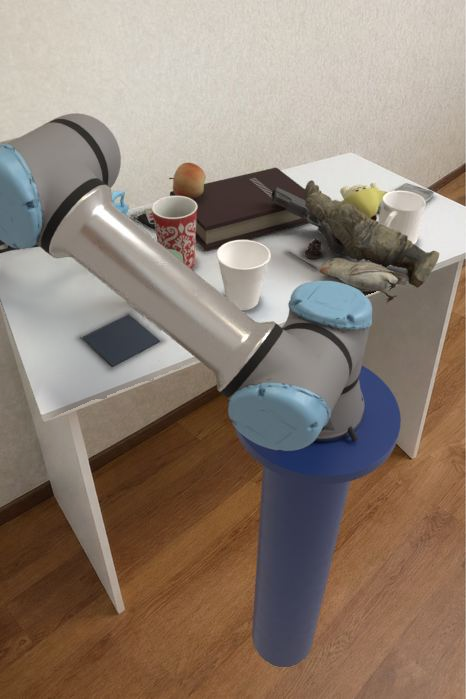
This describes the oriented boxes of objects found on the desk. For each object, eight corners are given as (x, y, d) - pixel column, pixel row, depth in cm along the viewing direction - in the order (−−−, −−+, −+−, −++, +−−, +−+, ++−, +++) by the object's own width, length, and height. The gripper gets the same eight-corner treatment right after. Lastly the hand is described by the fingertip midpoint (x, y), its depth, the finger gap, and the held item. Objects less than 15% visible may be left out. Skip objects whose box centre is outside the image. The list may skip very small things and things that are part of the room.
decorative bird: (316, 283, 120) (334, 267, 125) (390, 308, 112) (406, 291, 117) (319, 259, 117) (336, 244, 121) (394, 284, 109) (411, 267, 114)
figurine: (315, 268, 123) (317, 251, 120) (288, 252, 127) (289, 236, 125) (333, 259, 126) (335, 242, 123) (305, 243, 130) (307, 227, 127)
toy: (376, 172, 142) (401, 188, 129) (379, 200, 145) (404, 217, 132) (323, 188, 142) (342, 205, 129) (327, 215, 145) (347, 234, 132)
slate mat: (160, 341, 106) (160, 340, 106) (112, 366, 101) (112, 365, 101) (128, 315, 111) (128, 314, 111) (82, 338, 106) (82, 336, 106)
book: (271, 186, 150) (273, 164, 146) (314, 221, 137) (316, 198, 133) (170, 211, 140) (168, 188, 137) (205, 251, 128) (205, 227, 124)
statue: (406, 298, 124) (283, 227, 125) (428, 260, 125) (305, 190, 126) (423, 289, 113) (288, 211, 114) (447, 248, 114) (312, 170, 115)
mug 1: (206, 270, 122) (204, 212, 113) (164, 280, 120) (159, 221, 111) (185, 240, 131) (182, 184, 122) (146, 249, 128) (139, 192, 119)
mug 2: (393, 223, 137) (401, 186, 131) (425, 240, 132) (434, 202, 125) (358, 240, 131) (364, 202, 125) (390, 258, 126) (398, 219, 120)
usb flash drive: (155, 226, 134) (155, 230, 134) (172, 217, 136) (173, 221, 137) (131, 213, 138) (132, 217, 139) (148, 205, 141) (149, 209, 142)
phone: (434, 196, 147) (435, 192, 146) (403, 221, 138) (404, 216, 137) (404, 187, 151) (405, 182, 150) (372, 210, 142) (373, 205, 141)
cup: (275, 294, 116) (278, 246, 109) (256, 323, 110) (258, 274, 102) (229, 282, 119) (229, 234, 112) (208, 309, 113) (207, 261, 105)
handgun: (267, 224, 122) (269, 195, 130) (346, 260, 126) (344, 230, 135) (273, 213, 120) (275, 184, 129) (354, 250, 124) (351, 220, 133)
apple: (198, 205, 128) (163, 195, 128) (201, 203, 136) (167, 193, 135) (208, 168, 126) (171, 157, 125) (210, 167, 133) (176, 157, 133)
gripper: (-63, 233, 118) (34, 200, 129) (-9, 289, 104) (95, 247, 115) (-76, 199, 113) (26, 167, 124) (-21, 253, 99) (89, 212, 110)
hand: (59, 206), depth 119 cm, fingers open, 13 cm apart
